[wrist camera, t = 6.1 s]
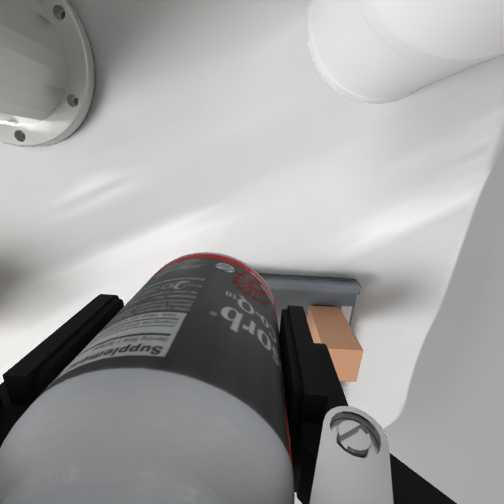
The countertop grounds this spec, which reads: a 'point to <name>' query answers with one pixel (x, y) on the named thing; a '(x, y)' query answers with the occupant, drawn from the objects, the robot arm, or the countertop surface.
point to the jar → (400, 43)
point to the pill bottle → (165, 401)
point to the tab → (336, 339)
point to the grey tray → (312, 292)
